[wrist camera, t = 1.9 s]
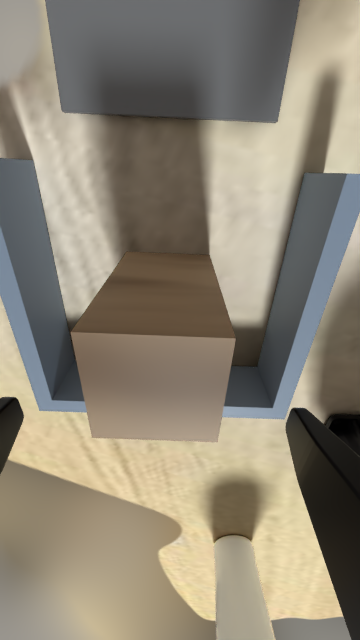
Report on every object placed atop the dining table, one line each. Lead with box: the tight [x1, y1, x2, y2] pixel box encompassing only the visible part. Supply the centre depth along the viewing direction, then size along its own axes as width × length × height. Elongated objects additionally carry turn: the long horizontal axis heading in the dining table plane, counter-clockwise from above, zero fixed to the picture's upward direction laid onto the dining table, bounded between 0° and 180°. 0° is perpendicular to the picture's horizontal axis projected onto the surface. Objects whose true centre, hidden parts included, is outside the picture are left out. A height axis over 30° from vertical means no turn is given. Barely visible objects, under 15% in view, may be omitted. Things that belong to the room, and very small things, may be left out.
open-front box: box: [0, 158, 360, 419], centre depth 15 cm, size 14×16×4 cm
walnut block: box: [70, 252, 236, 442], centre depth 13 cm, size 5×5×9 cm
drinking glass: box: [214, 535, 276, 640], centre depth 29 cm, size 7×7×15 cm
